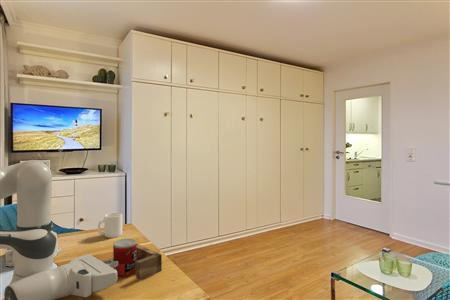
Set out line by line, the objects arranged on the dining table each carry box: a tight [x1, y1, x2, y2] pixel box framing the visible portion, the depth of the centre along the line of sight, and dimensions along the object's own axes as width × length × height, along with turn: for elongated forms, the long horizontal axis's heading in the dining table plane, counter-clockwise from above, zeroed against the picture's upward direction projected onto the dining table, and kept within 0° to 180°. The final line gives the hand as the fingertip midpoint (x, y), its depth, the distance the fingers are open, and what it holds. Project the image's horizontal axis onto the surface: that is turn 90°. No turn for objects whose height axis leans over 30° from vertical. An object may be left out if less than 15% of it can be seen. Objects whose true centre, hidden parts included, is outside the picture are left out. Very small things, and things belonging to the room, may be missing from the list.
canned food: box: [112, 238, 137, 278], centre depth 98 cm, size 8×8×11 cm
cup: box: [97, 212, 123, 239], centre depth 135 cm, size 8×12×10 cm
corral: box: [136, 243, 163, 281], centre depth 102 cm, size 17×9×6 cm, turn 51°
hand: (116, 261), depth 94 cm, fingers closed
